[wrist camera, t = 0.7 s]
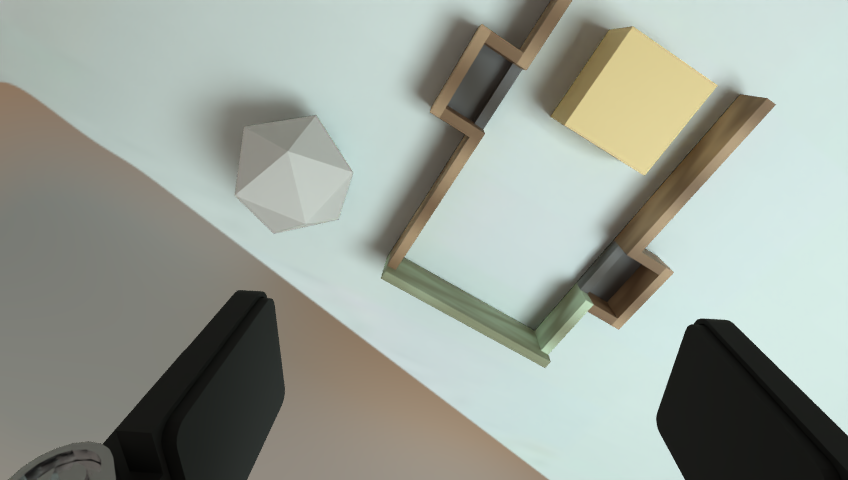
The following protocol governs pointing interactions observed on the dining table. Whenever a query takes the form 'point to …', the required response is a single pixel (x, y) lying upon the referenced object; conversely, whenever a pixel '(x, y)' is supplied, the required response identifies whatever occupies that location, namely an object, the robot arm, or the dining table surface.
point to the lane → (620, 262)
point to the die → (291, 174)
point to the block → (633, 98)
